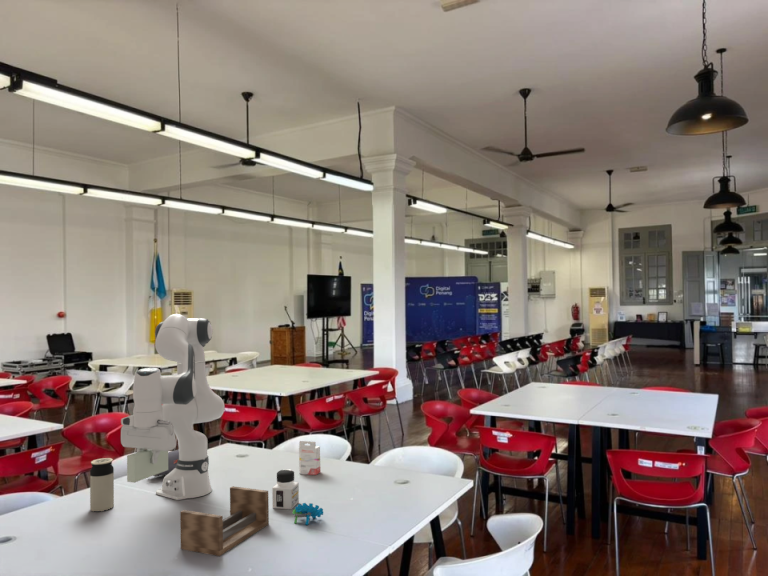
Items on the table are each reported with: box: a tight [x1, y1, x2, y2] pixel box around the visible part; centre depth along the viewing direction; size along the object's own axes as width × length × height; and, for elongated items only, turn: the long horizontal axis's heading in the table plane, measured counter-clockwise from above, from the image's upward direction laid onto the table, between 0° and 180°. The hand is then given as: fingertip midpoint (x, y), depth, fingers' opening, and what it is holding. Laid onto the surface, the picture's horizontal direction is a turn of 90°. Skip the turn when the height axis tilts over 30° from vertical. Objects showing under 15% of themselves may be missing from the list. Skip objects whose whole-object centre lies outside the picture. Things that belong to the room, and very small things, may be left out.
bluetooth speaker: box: [152, 449, 179, 477], centre depth 257 cm, size 23×9×10 cm, turn 148°
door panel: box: [126, 449, 169, 484], centre depth 179 cm, size 3×14×8 cm, turn 157°
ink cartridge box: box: [298, 440, 321, 476], centre depth 251 cm, size 9×5×15 cm, turn 73°
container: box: [271, 468, 300, 510], centre depth 211 cm, size 8×8×13 cm
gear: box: [292, 502, 324, 526], centre depth 193 cm, size 11×6×10 cm
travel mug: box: [89, 457, 115, 512], centre depth 212 cm, size 8×8×18 cm
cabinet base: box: [179, 486, 270, 557], centre depth 183 cm, size 15×26×12 cm, turn 158°
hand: (148, 462), depth 179 cm, fingers closed on door panel, 3 cm apart
